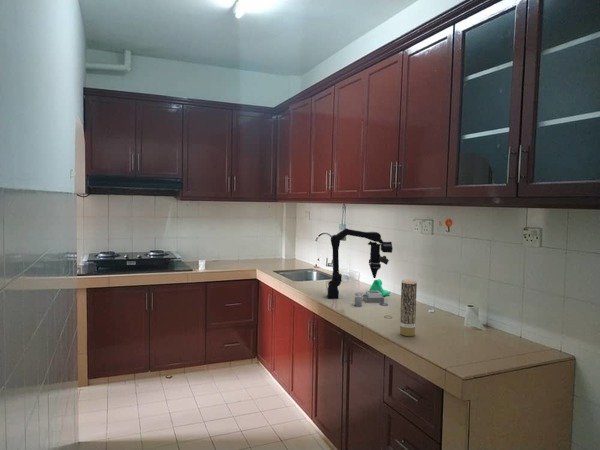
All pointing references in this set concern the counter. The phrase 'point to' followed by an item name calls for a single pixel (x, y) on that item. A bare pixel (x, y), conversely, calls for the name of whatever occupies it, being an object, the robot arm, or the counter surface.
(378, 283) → the camera mount
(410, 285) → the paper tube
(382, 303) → the lens cap
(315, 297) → the counter surface
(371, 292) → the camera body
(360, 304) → the lens
